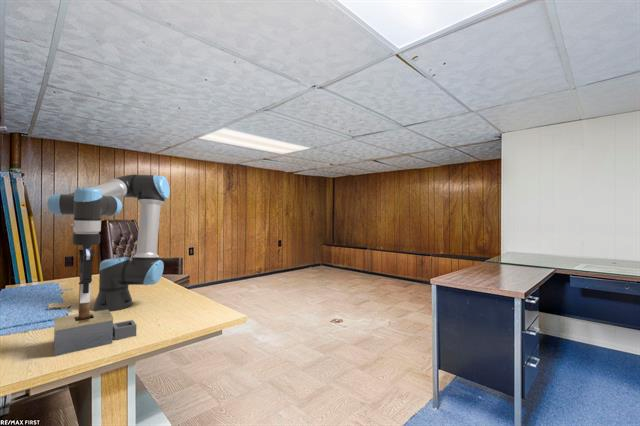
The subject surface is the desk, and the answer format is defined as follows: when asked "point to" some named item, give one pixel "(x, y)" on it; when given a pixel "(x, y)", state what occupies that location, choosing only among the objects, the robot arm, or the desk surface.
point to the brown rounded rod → (83, 307)
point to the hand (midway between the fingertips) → (84, 301)
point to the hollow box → (82, 332)
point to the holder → (124, 329)
